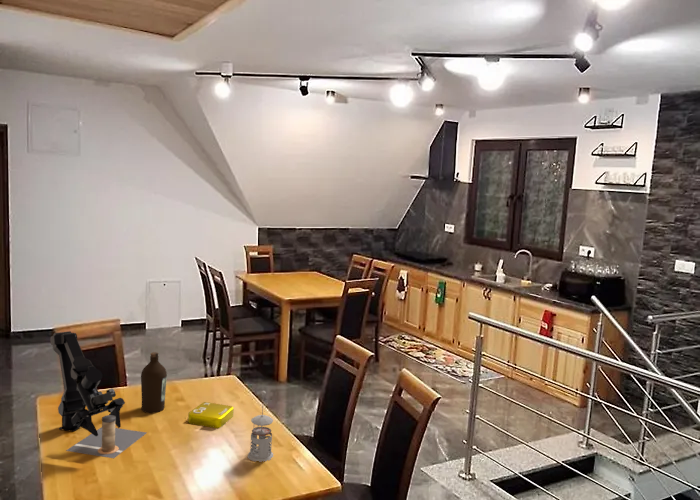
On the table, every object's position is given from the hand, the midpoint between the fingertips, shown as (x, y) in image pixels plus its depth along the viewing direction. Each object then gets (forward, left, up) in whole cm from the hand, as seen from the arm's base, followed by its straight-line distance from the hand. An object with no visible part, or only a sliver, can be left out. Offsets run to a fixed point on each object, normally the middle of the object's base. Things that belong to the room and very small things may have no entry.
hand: (108, 431), depth 206 cm
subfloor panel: (-4, +6, -8) cm, 11 cm away
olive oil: (-6, +42, -9) cm, 43 cm away
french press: (+52, +16, -9) cm, 55 cm away
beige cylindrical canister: (0, 0, -7) cm, 7 cm away
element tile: (+22, +40, -9) cm, 46 cm away
